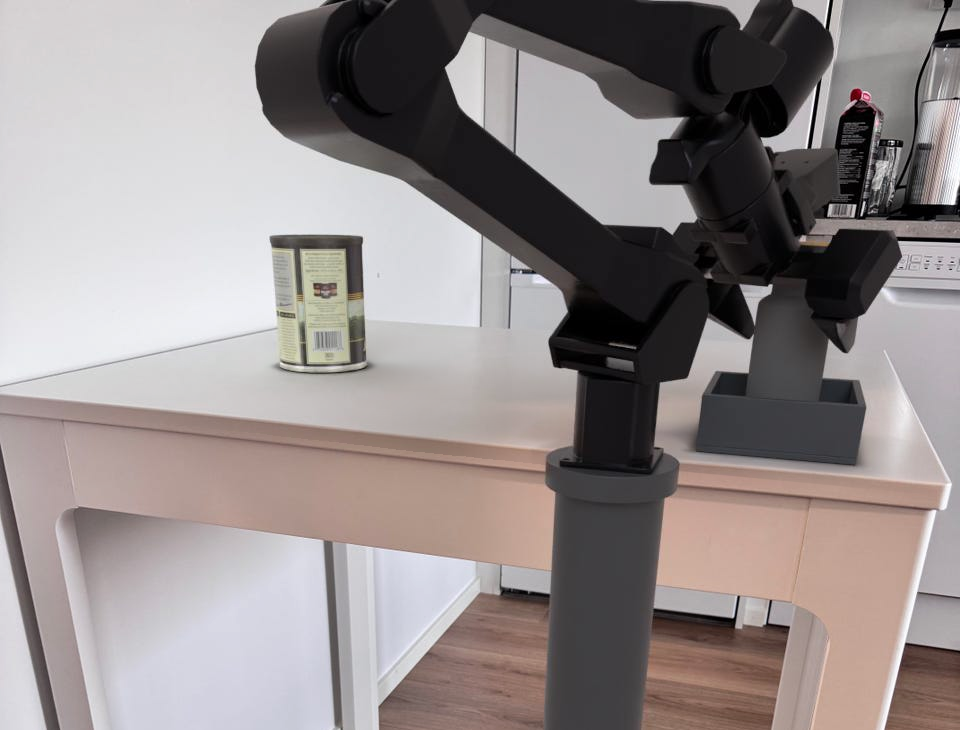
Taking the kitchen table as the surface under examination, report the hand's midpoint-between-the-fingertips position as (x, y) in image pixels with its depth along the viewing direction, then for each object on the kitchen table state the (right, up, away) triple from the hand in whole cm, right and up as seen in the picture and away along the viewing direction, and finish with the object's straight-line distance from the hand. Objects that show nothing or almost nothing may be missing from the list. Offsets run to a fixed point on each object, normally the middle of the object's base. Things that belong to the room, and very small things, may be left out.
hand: (798, 341), depth 77 cm
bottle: (-1, -7, +3) cm, 8 cm away
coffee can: (-44, +8, +34) cm, 57 cm away
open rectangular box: (-1, -8, +3) cm, 8 cm away
